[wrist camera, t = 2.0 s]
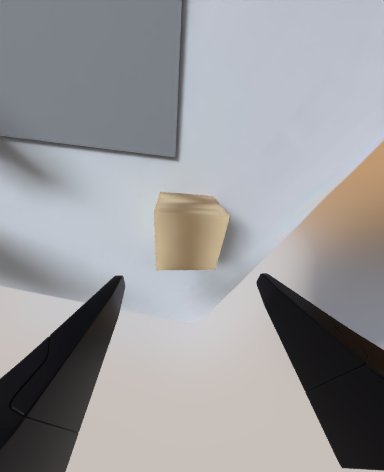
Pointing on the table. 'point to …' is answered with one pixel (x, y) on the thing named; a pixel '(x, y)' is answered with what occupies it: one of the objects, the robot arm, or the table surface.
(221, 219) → the oak cube
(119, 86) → the slate mat
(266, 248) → the table surface
